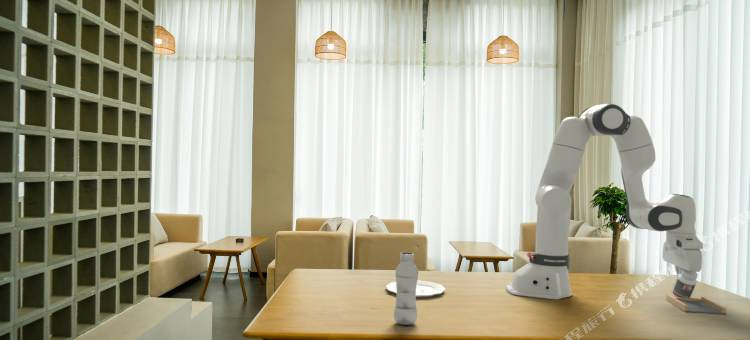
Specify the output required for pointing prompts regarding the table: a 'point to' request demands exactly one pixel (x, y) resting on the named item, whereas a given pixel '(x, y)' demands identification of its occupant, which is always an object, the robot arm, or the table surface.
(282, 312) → the table surface
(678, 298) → the wooden tray
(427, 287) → the plate
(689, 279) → the pill bottle
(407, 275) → the plastic bottle
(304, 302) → the table surface
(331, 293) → the table surface
